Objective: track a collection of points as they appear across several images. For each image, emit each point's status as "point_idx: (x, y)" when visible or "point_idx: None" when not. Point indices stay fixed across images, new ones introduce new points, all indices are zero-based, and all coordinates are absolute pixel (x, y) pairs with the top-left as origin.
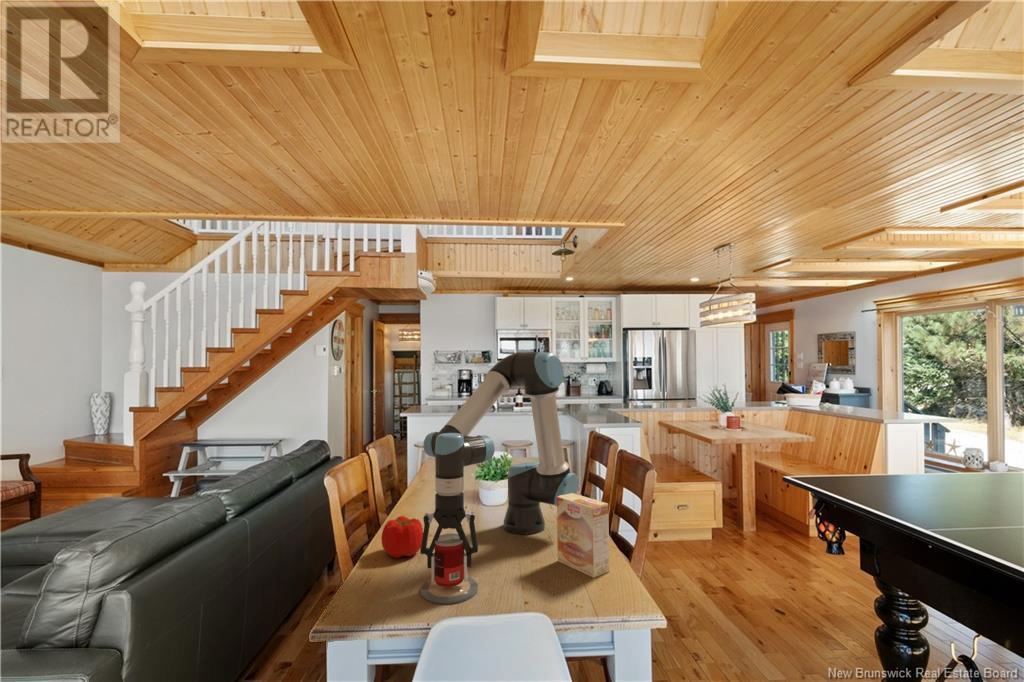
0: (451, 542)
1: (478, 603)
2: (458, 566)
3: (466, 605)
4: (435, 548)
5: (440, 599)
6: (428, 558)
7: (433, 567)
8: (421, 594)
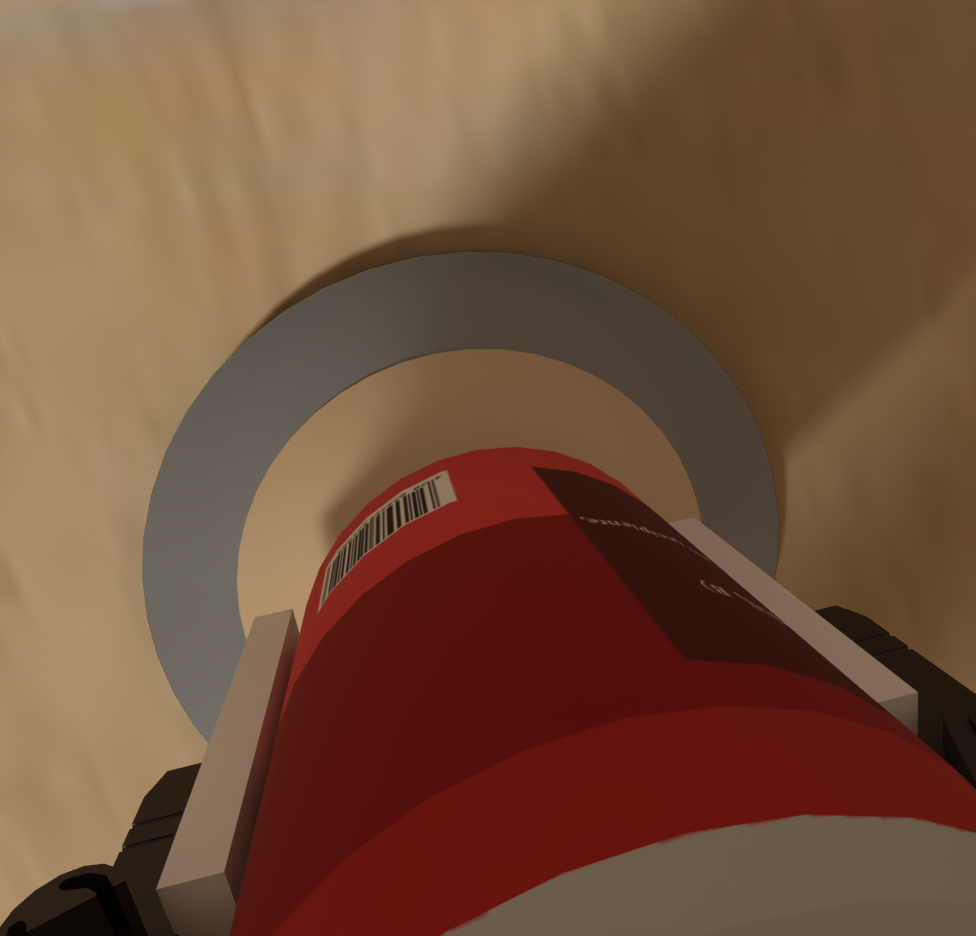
0: None
1: (40, 331)
2: (319, 639)
3: (172, 263)
4: None
5: (500, 284)
6: (943, 691)
7: (763, 603)
8: (740, 406)
